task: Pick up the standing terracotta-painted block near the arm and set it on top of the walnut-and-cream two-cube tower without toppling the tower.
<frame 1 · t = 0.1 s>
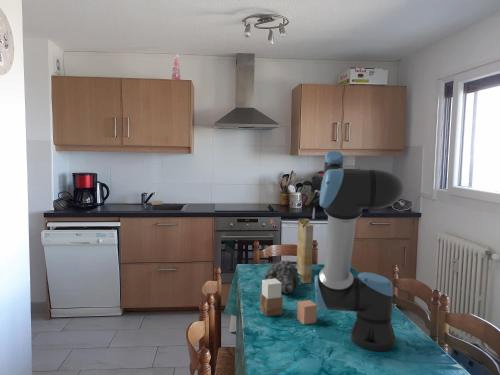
hand: (327, 217, 179), 36 cm above the table, tool tilted 35°, fingers open, 13 cm apart
walnut base cube: (270, 312, 156), on the table, touching cream top cube
cream top cube: (271, 295, 155), point 7 cm above the table, touching walnut base cube
terracotta block: (306, 320, 148), on the table
rock: (283, 291, 181), on the table
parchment: (303, 276, 203), on the table
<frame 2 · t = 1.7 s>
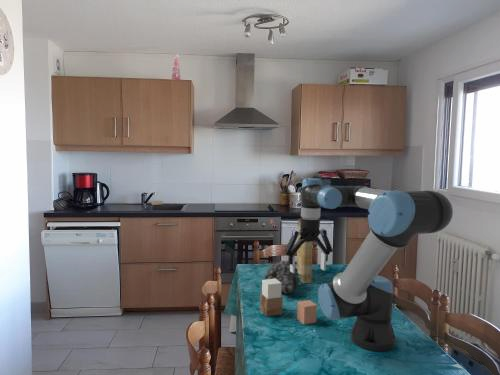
hand: (307, 270, 149), 19 cm above the table, tool pointing down, fingers open, 13 cm apart
nothing on the table moved.
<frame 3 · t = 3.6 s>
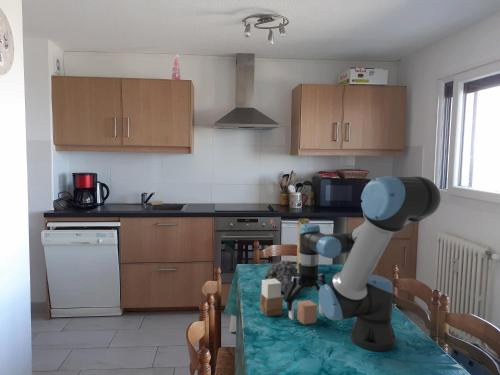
hand: (306, 316, 149), 2 cm above the table, tool pointing down, fingers open, 13 cm apart
nothing on the table moved.
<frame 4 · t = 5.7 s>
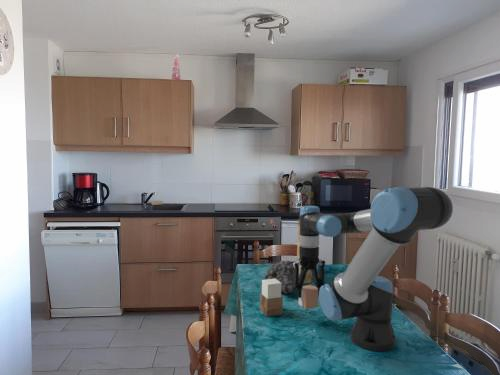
hand: (308, 304, 147), 7 cm above the table, tool pointing down, fingers closed on terracotta block, 5 cm apart
terracotta block: (308, 305, 147), point 6 cm above the table, touching gripper
everything else where it was.
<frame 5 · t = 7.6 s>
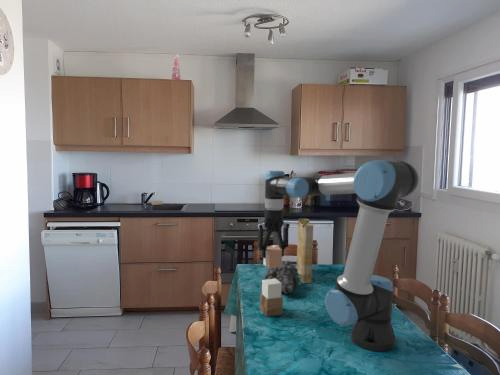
hand: (272, 264, 154), 20 cm above the table, tool pointing down, fingers closed on terracotta block, 5 cm apart
terracotta block: (272, 265, 155), point 19 cm above the table, touching gripper
everything else where it was.
when the fingers open (14 cm above the table, at t = 9.9 s): terracotta block stays where it is, resting on cream top cube.
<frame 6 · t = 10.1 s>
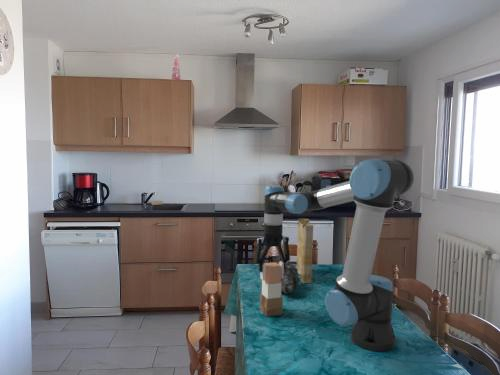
hand: (271, 278, 155), 14 cm above the table, tool pointing down, fingers open, 8 cm apart
cream top cube: (271, 295, 155), point 7 cm above the table, touching terracotta block, walnut base cube
terracotta block: (271, 281, 155), point 13 cm above the table, touching cream top cube
everything else where it was.
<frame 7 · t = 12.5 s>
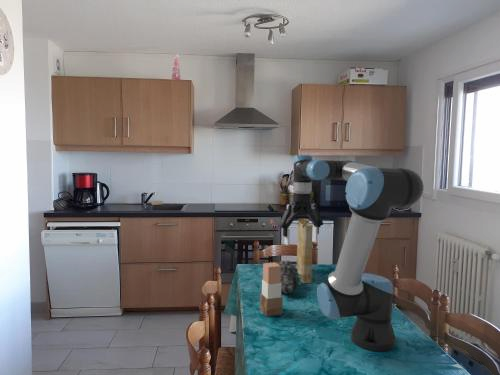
hand: (300, 243, 157), 28 cm above the table, tool pointing down, fingers open, 13 cm apart
nothing on the table moved.
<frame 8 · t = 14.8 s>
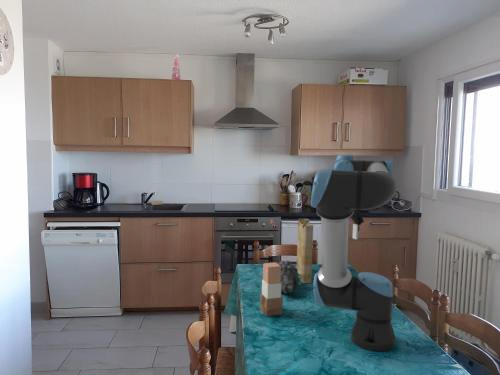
hand: (341, 239, 163), 29 cm above the table, tool pointing down, fingers open, 13 cm apart
nothing on the table moved.
at the end: terracotta block 0.1 cm off-centre on the walnut base cube, point 13.0 cm above the walnut base cube's base; cream top cube 0.3 cm off-centre on the walnut base cube, point 7.0 cm above the walnut base cube's base; terracotta block tilted 0° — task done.
